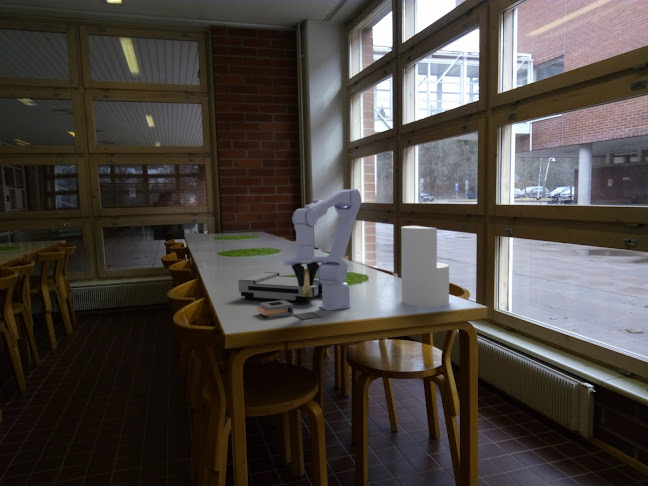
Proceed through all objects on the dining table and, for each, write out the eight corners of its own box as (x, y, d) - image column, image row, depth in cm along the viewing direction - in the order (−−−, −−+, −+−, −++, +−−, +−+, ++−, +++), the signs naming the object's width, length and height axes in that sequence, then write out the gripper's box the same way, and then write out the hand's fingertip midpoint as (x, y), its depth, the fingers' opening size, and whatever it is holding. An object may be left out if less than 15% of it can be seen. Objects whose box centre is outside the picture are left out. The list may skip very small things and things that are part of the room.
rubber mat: (312, 312, 158) (312, 311, 158) (321, 317, 152) (321, 315, 152) (293, 315, 155) (293, 314, 155) (302, 320, 149) (302, 318, 149)
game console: (312, 306, 169) (312, 284, 168) (239, 300, 181) (238, 280, 181) (334, 295, 188) (333, 275, 187) (266, 290, 200) (265, 272, 200)
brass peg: (308, 294, 155) (307, 268, 154) (311, 296, 152) (311, 269, 151) (299, 295, 153) (299, 268, 153) (303, 297, 151) (303, 269, 150)
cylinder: (414, 308, 161) (414, 229, 159) (394, 298, 178) (393, 226, 175) (458, 304, 166) (458, 227, 163) (434, 295, 183) (434, 225, 180)
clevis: (284, 309, 163) (284, 299, 163) (293, 314, 156) (293, 304, 156) (256, 313, 159) (256, 303, 158) (264, 318, 152) (264, 308, 151)
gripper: (289, 247, 145) (290, 289, 146) (330, 244, 151) (330, 285, 152) (281, 245, 151) (281, 286, 152) (320, 243, 157) (320, 282, 159)
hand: (305, 285), depth 153 cm, fingers closed on brass peg, 3 cm apart
